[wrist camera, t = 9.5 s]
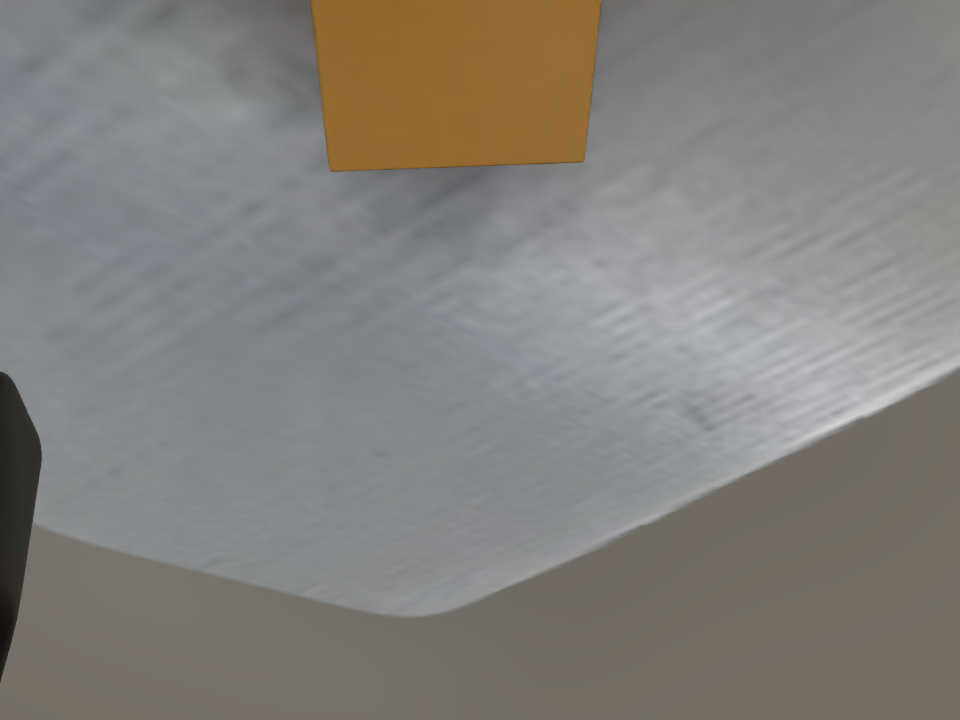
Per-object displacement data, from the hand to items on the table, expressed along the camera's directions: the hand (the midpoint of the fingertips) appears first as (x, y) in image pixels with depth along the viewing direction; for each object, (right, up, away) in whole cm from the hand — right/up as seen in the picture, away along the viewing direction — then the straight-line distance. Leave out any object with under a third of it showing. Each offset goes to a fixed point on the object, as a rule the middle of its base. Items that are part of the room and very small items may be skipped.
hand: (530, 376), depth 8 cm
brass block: (-1, +8, +9) cm, 12 cm away
